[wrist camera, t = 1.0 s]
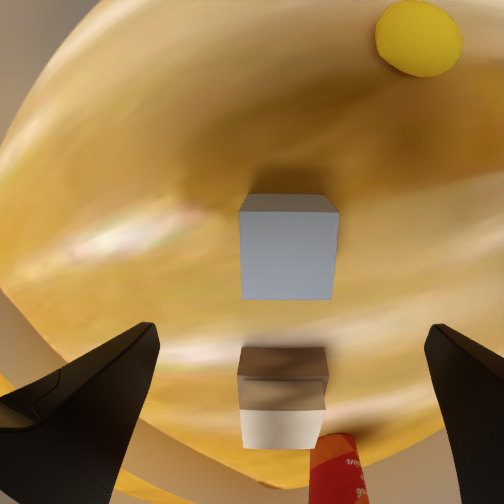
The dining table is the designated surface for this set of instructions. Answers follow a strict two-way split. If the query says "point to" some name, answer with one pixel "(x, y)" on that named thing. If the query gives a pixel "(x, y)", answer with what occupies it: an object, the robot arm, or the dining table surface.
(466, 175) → the dining table surface
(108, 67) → the dining table surface
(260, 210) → the slate brick
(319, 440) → the paper cup
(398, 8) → the lemon
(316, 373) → the tower base
